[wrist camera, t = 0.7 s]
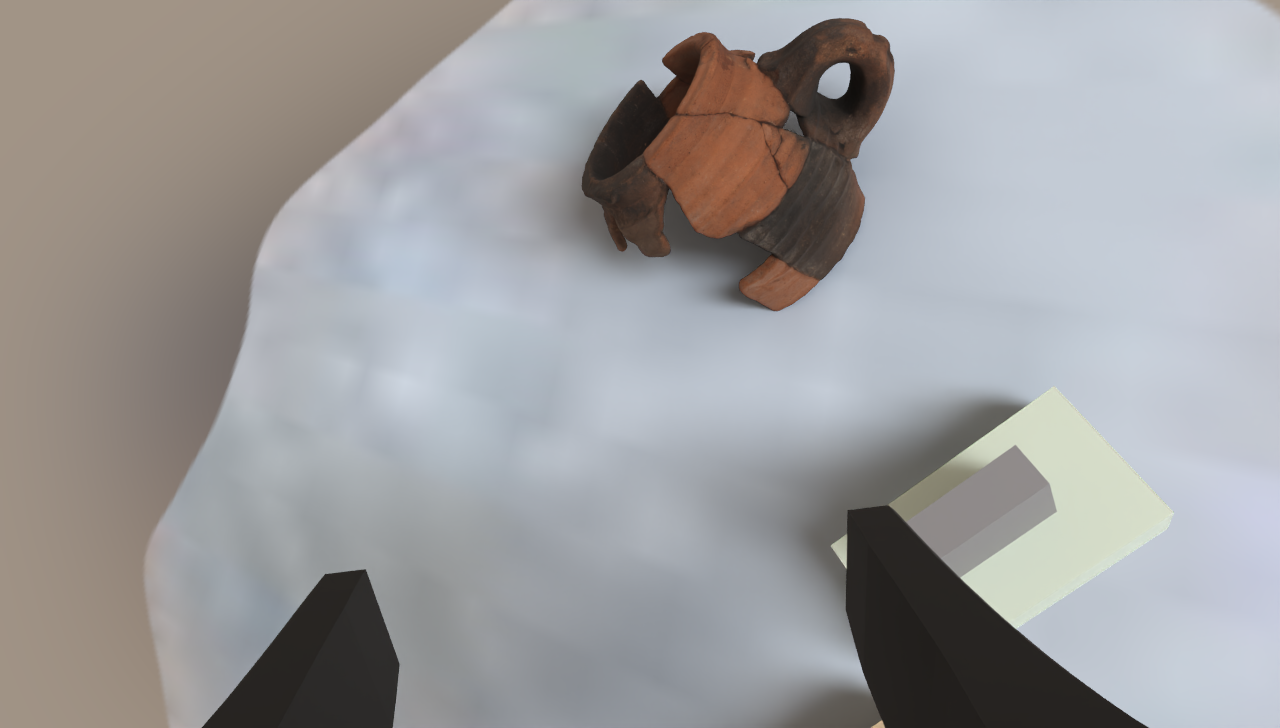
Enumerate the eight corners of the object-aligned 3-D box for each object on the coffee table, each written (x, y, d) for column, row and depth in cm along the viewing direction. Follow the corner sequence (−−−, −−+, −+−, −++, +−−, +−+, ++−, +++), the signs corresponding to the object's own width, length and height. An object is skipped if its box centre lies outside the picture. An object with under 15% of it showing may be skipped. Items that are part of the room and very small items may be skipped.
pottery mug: (728, 377, 34) (562, 258, 30) (703, 249, 41) (567, 140, 38) (992, 160, 29) (830, -16, 25) (910, 57, 36) (775, -91, 32)
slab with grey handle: (1166, 529, 26) (1186, 482, 20) (939, 680, 27) (893, 678, 21) (1058, 413, 28) (1047, 340, 22) (853, 557, 29) (791, 525, 24)
